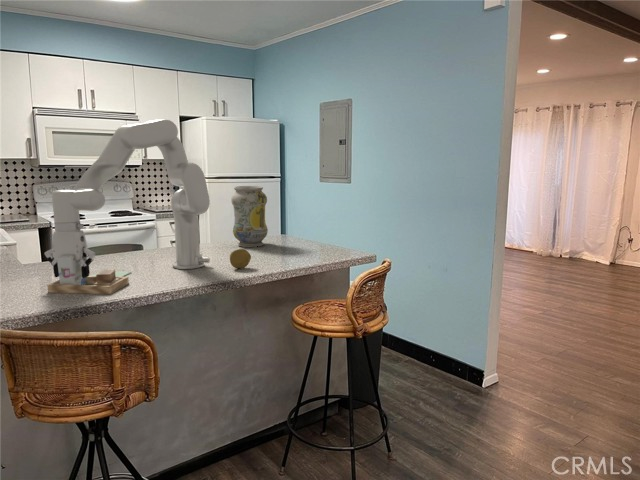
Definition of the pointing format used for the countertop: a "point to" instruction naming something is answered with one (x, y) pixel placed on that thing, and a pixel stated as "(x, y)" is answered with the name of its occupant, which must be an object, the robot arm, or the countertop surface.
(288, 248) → the countertop surface
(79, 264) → the ink box
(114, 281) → the offcut low
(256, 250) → the countertop surface
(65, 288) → the frame
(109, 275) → the offcut top
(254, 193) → the vase
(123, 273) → the mat
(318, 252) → the countertop surface
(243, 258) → the potato
